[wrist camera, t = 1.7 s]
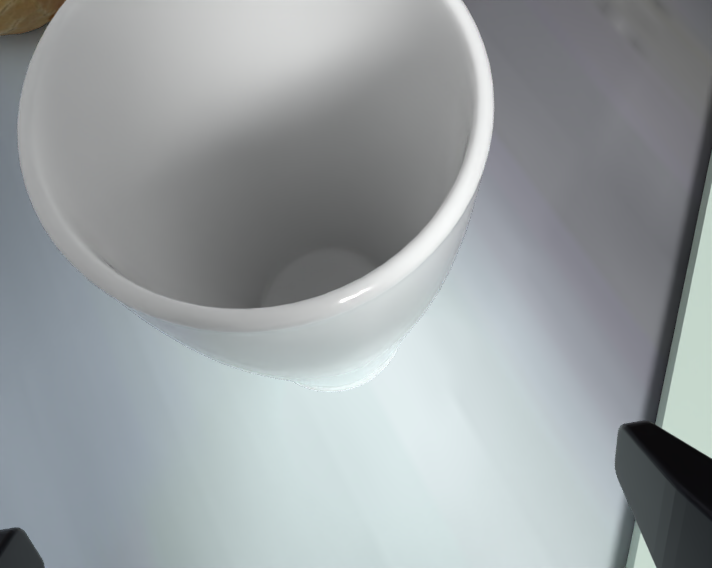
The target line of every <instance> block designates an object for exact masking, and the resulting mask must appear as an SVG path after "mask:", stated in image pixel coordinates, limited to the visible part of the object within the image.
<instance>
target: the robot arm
mask: <svg viewBox="0 0 712 568" xmlns="http://www.w3.org/2000/svg"><path fill="white" fill-rule="evenodd" d="M615 470H616V474H617V478H618V480H619V483H620V485H621V487H622V490H623V492H624V494H625V497H626V499H627V501H628V504H629V506H630V508H631V511H632V513H633V515H634V517H635V520H636V522H637V524H638V527H639V529H640V531H641V534H642V536H643V538H644V541H645V543H646V545H647V548H648V550H649V552H650V555H651V557H652V559H653V561H654V564H655V566H656V568H712V458H710V457H709V456H707V455H705V454H704V453H702V452H700V451H699V450H697V449H695V448H694V447H692V446H690V445H689V444H687V443H685V442H684V441H682V440H680V439H679V438H677V437H675V436H674V435H672V434H670V433H669V432H667V431H666V430H664V429H662V428H661V427H659V426H657V425H656V424H654V423H652V422H649V421H638V422H632V423H626V424H623V425H621V426H620V428H619V430H618V436H617V445H616V455H615ZM0 568H45V567H44V563H43V560H42V558H41V557H40V555H39V553H38V552H37V550H36V549H35V547H34V545H33V544H32V542H31V541H30V539H29V537H28V536H27V534H26V533H25V531H24V530H22V529H20V528H16V527H15V528H9V529H3V530H0Z"/></svg>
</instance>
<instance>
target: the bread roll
mask: <svg viewBox="0 0 712 568" xmlns="http://www.w3.org/2000/svg"><path fill="white" fill-rule="evenodd" d="M65 1H66V0H0V35H9V34H21V33H25V32H28V31H31V30H34V29H37V28H40V27H41V26H43V25H44V24H46V23H47V22H49V21H51V20H52V18H53V17H54V15H55V14H56V12H57V11H58V9H59V8H60V7H61V6H62V4H63V3H64V2H65Z"/></svg>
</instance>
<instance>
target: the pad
mask: <svg viewBox="0 0 712 568" xmlns="http://www.w3.org/2000/svg"><path fill="white" fill-rule="evenodd" d="M655 424H656V425H657V426H659V427H661V428H662V429H664V430H666V431H667V432H669V433H670V434H672V435H674V436H675V437H677V438H679V439H680V440H682V441H684V442H685V443H687V444H689V445H690V446H692V447H694V448H695V449H697V450H699V451H700V452H702V453H704V454H705V455H707V456H709V457H710V458H712V151H711V156H710V161H709V166H708V171H707V176H706V180H705V185H704V190H703V195H702V200H701V205H700V210H699V214H698V219H697V224H696V229H695V234H694V239H693V243H692V248H691V253H690V258H689V263H688V268H687V273H686V277H685V282H684V287H683V292H682V297H681V302H680V306H679V311H678V316H677V321H676V326H675V331H674V336H673V340H672V345H671V350H670V355H669V360H668V365H667V370H666V374H665V379H664V384H663V389H662V394H661V399H660V403H659V408H658V413H657V418H656V423H655ZM626 568H656V566H655V564H654V561H653V559H652V557H651V555H650V552H649V550H648V548H647V545H646V543H645V541H644V538H643V536H642V534H641V531H640V529H639V527H638V524H637V522H636V520H635V525H634V530H633V534H632V539H631V544H630V549H629V554H628V559H627V563H626Z"/></svg>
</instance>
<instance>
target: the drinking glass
mask: <svg viewBox="0 0 712 568" xmlns="http://www.w3.org/2000/svg"><path fill="white" fill-rule="evenodd" d="M493 121H494V89H493V81H492V75H491V68H490V64H489V60H488V56H487V53H486V49H485V45H484V43H483V40H482V38H481V35H480V33H479V30H478V28H477V26H476V24H475V22H474V20H473V18H472V16H471V14H470V12H469V10H468V9H467V7H466V6H465V4H464V3H463V1H462V0H66V1H65V2H64V3H63V4H62V6H61V7H60V8H59V9H58V11H57V12H56V14H55V15H54V17H53V18H52V20H51V21H50V23H49V24H48V26H47V28H46V29H45V31H44V33H43V35H42V37H41V39H40V41H39V42H38V44H37V47H36V49H35V51H34V54H33V56H32V58H31V61H30V63H29V66H28V69H27V73H26V76H25V79H24V82H23V86H22V91H21V96H20V102H19V109H18V121H17V145H18V153H19V161H20V168H21V172H22V176H23V180H24V184H25V188H26V190H27V193H28V196H29V198H30V201H31V204H32V206H33V209H34V211H35V213H36V214H37V216H38V218H39V220H40V222H41V224H42V226H43V228H44V230H45V231H46V232H47V234H48V235H49V237H50V238H51V240H52V241H53V243H54V244H55V246H56V247H57V248H58V250H59V251H60V252H61V253H62V254H63V255H64V257H65V258H66V259H67V260H68V261H69V262H70V264H71V265H72V266H73V267H75V268H76V269H77V270H78V271H79V272H80V273H81V274H82V275H83V276H84V277H85V278H86V279H87V280H89V281H90V282H91V283H93V284H94V285H95V286H97V287H98V288H99V289H101V290H102V291H103V292H105V293H106V294H107V295H109V296H111V297H112V298H114V299H115V300H116V301H118V302H119V303H120V304H122V305H123V306H125V307H126V308H127V309H129V310H130V311H131V312H133V313H134V314H135V315H137V316H138V317H139V318H141V319H142V320H144V321H145V322H146V323H148V324H149V325H151V326H152V327H154V328H155V329H157V330H159V331H160V332H162V333H163V334H165V335H167V336H169V337H170V338H172V339H174V340H175V341H177V342H179V343H181V344H182V345H184V346H186V347H187V348H189V349H191V350H193V351H195V352H197V353H199V354H201V355H204V356H206V357H208V358H210V359H212V360H215V361H217V362H219V363H222V364H224V365H227V366H230V367H233V368H236V369H239V370H242V371H245V372H248V373H253V374H257V375H261V376H266V377H270V378H275V379H281V380H286V381H291V382H294V383H295V384H297V385H300V386H302V387H304V388H308V389H311V390H315V391H322V392H339V391H345V390H349V389H353V388H356V387H358V386H361V385H363V384H365V383H367V382H368V381H370V380H371V379H373V378H374V377H376V376H377V375H378V374H379V373H380V372H382V371H383V370H384V369H385V368H386V366H387V365H388V364H389V363H390V361H391V360H392V359H393V357H394V355H395V354H396V352H397V350H398V348H399V345H400V343H401V342H402V340H403V339H404V338H405V337H406V336H407V334H408V333H409V332H410V331H411V330H412V328H413V327H414V326H415V325H416V324H417V322H418V321H419V320H420V319H421V317H422V316H423V315H424V313H425V312H426V311H427V309H428V308H429V306H430V305H431V303H432V302H433V300H434V299H435V297H436V296H437V294H438V293H439V291H440V289H441V287H442V285H443V283H444V282H445V280H446V278H447V276H448V274H449V272H450V270H451V268H452V266H453V263H454V261H455V259H456V256H457V254H458V252H459V249H460V247H461V244H462V242H463V239H464V237H465V234H466V231H467V228H468V225H469V222H470V219H471V215H472V212H473V208H474V205H475V202H476V198H477V195H478V191H479V187H480V183H481V179H482V175H483V171H484V167H485V164H486V160H487V157H488V154H489V149H490V143H491V138H492V132H493Z"/></svg>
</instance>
